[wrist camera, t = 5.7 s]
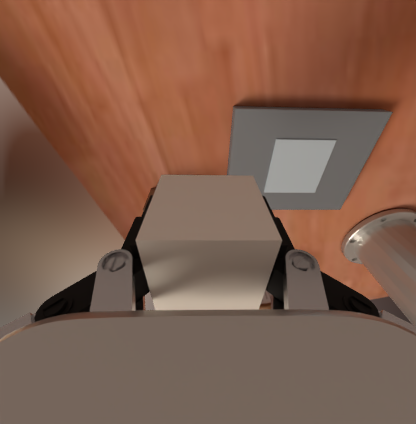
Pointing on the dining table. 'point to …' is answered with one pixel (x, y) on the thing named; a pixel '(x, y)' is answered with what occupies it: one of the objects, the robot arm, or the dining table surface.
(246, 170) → the grey tray
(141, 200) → the dining table surface
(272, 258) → the off-white block
